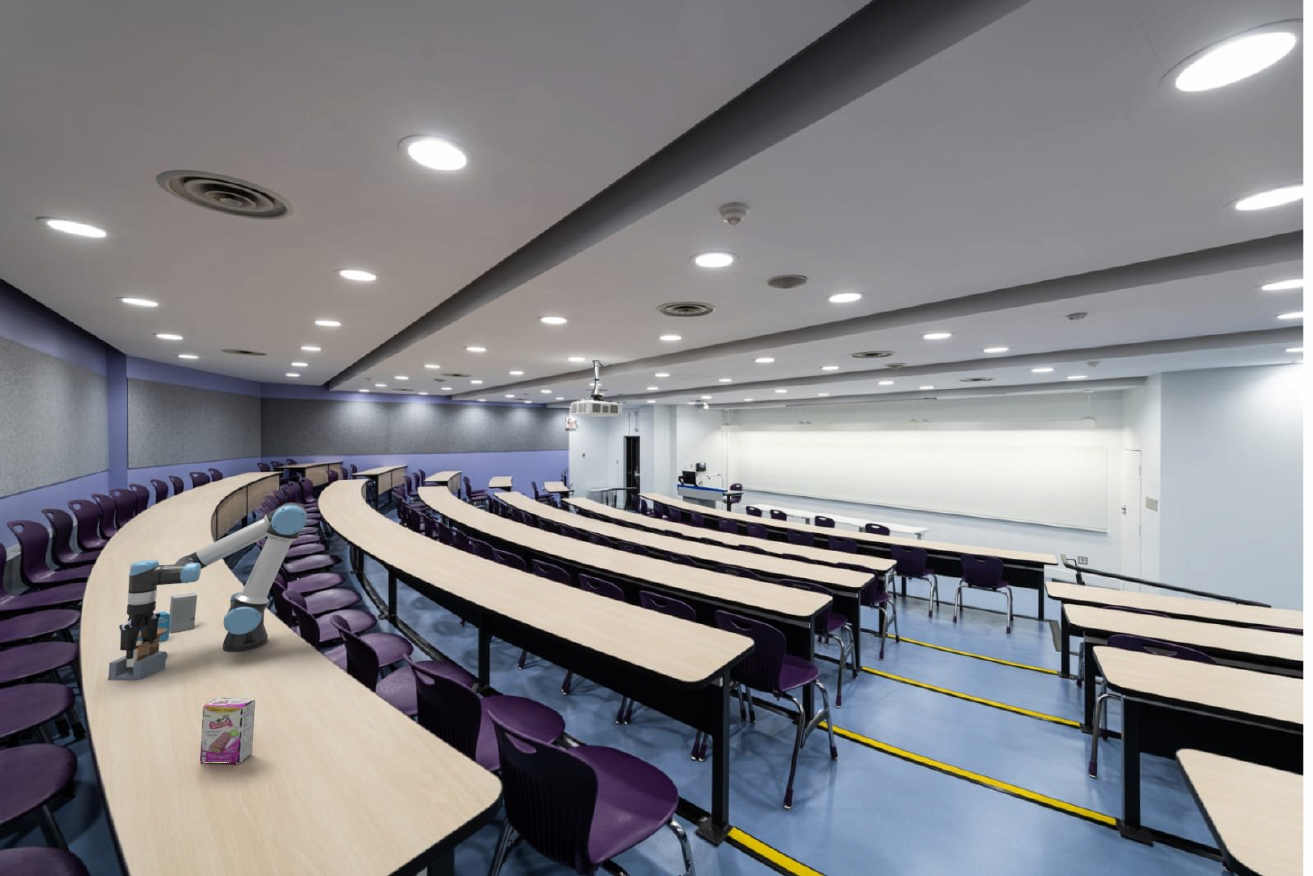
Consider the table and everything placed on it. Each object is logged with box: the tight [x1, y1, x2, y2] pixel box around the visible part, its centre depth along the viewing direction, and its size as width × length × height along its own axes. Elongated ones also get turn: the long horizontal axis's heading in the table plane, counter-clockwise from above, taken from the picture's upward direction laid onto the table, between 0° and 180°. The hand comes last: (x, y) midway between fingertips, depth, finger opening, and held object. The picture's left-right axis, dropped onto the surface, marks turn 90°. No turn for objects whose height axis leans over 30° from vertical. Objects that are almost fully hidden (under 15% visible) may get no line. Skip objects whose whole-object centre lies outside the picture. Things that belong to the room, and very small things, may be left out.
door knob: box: [138, 628, 168, 658], centre depth 195 cm, size 9×9×11 cm
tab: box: [126, 641, 149, 666], centre depth 183 cm, size 4×4×8 cm
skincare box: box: [168, 592, 198, 634], centre depth 225 cm, size 8×7×16 cm
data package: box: [137, 611, 170, 643], centre depth 209 cm, size 12×4×12 cm, turn 150°
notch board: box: [107, 650, 167, 681], centre depth 183 cm, size 11×10×6 cm
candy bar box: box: [199, 697, 256, 765], centre depth 138 cm, size 11×5×16 cm, turn 92°
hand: (137, 663), depth 183 cm, fingers closed on tab, 4 cm apart
